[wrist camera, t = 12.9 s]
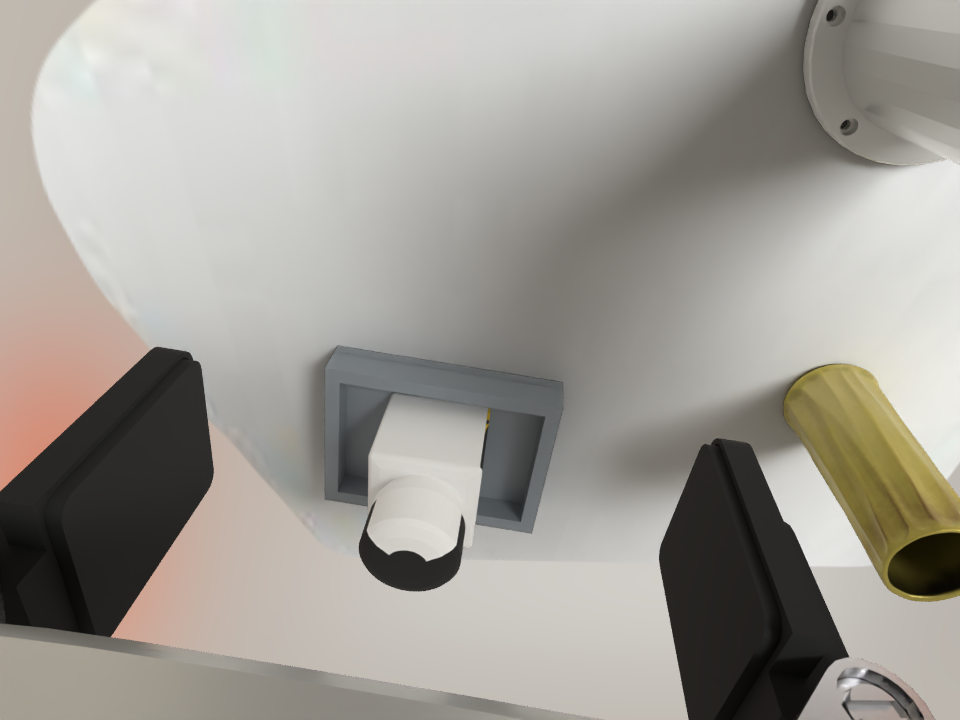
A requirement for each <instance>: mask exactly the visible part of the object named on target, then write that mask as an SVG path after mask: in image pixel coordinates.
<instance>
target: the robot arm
mask: <svg viewBox="0 0 960 720" xmlns="http://www.w3.org/2000/svg"><path fill="white" fill-rule="evenodd" d="M830 10H833V11H834V16H833V18H832V19H831V20H829V21H827V20H826V16H827V13H828V12H829V11H830ZM803 74H804V81H805V88H806V94H807V97H808V100H809V102H810V105H811V108H812V110H813V113H814V115H815V117H816V118H817V120H818V121H819V123H820V124H821V125H822V127H823V128H824V130H825V131H826V132H827V133H828V134H829V135H830V136H831V137H832V138H833V139H834V140H836V141H837V142H838V143H839V144H840V145H841V146H843V147H845V148H847V149H848V150H850V151H852V152H853V153H855V154H857V155H859V156H862V157H864V158H867V159H869V160H872V161H875V162H879V163H885V164H892V165H898V166H899V165H923V164H928V163H933V162H938V161H943V160H947V159H948V160H950V161H952V162H954V163H957V164H959V165H960V0H818V2H817V5H816V7H815V10H814V12H813V15H812V17H811V20H810V24H809V28H808V33H807V37H806V41H805V46H804V64H803ZM845 120H847V124H846V126H845V127H843V128H840V127H841V124H842V123H843V122H844V121H845ZM213 473H214V468H213V461H212V452H211V443H210V435H209V427H208V419H207V410H206V402H205V394H204V386H203V377H202V369H201V365H200V363H199V362H197V361H193V358H192V356H191V354H190V353H189V352H186V351H180V350H174V349H168V348H162V347H155V348H153V349H152V350H150V351H149V352H148V353H147V354H146V355H145V356H144V357H143V358H142V359H141V360H140V361H139V362H138V363H137V364H135V365H134V366H133V367H132V368H131V369H130V370H129V371H128V372H127V373H126V374H125V375H124V376H123V377H122V378H121V379H120V380H118V381H117V382H116V383H115V384H114V385H113V386H112V387H111V388H110V389H109V390H108V391H107V392H106V393H105V394H104V395H102V396H101V397H100V398H99V399H98V400H97V401H96V402H95V403H94V404H93V405H92V406H91V407H90V408H89V409H88V410H87V411H85V412H84V413H83V414H82V415H81V416H80V417H79V418H78V419H77V420H76V421H75V422H74V423H73V424H72V425H70V427H68V428H67V429H66V430H65V431H64V432H63V433H62V434H61V435H60V436H59V437H58V438H57V439H56V440H55V441H53V442H52V443H51V444H50V445H49V446H48V447H47V448H46V449H45V450H44V451H43V452H42V453H41V454H40V455H39V456H37V457H36V458H35V459H34V460H33V461H32V462H31V463H30V464H29V465H28V466H27V467H26V468H25V469H24V470H23V471H21V472H20V473H19V474H18V475H17V476H16V477H15V478H14V479H13V480H12V481H11V482H10V483H9V484H8V485H7V486H6V487H5V488H3V489H2V490H1V491H0V720H603V719H597V718H591V717H586V716H580V715H574V714H568V713H563V712H557V711H551V710H545V709H540V708H534V707H528V706H522V705H516V704H511V703H505V702H499V701H494V700H488V699H482V698H476V697H471V696H465V695H458V694H452V693H447V692H441V691H435V690H429V689H424V688H418V687H412V686H406V685H399V684H394V683H388V682H382V681H376V680H370V679H364V678H358V677H352V676H346V675H340V674H334V673H328V672H323V671H317V670H310V669H305V668H299V667H293V666H286V665H281V664H274V663H268V662H262V661H256V660H250V659H243V658H237V657H231V656H225V655H219V654H213V653H207V652H200V651H195V650H188V649H182V648H176V647H170V646H164V645H158V644H152V643H145V642H139V641H132V640H125V639H118V638H112V637H111V636H112V634H113V633H114V631H115V630H116V628H117V627H118V625H119V623H120V622H121V621H122V619H123V618H124V616H125V615H126V613H127V612H128V610H129V609H130V607H131V606H132V604H133V602H134V601H135V600H136V598H137V597H138V595H139V594H140V592H141V591H142V589H143V588H144V586H145V585H146V583H147V581H148V580H149V579H150V577H151V576H152V574H153V572H154V571H155V570H156V568H157V567H158V565H159V563H160V562H161V560H162V559H163V557H164V556H165V554H166V553H167V551H168V550H169V548H170V547H171V545H172V544H173V542H174V541H175V539H176V538H177V536H178V535H179V533H180V532H181V530H182V529H183V527H184V526H185V524H186V523H187V521H188V520H189V518H190V517H191V515H192V514H193V512H194V511H195V509H196V508H197V506H198V505H199V503H200V502H201V500H202V499H203V497H204V495H205V494H206V493H207V491H208V489H209V488H210V486H211V483H212V480H213ZM659 563H660V569H661V574H662V580H663V585H664V590H665V595H666V601H667V606H668V612H669V617H670V622H671V628H672V633H673V638H674V644H675V649H676V654H677V660H678V665H679V670H680V675H681V681H682V686H683V692H684V696H685V702H686V708H687V712H688V718H689V720H935V718H934V717H933V715H932V713H931V711H930V710H929V708H928V706H927V705H926V703H925V702H924V701H923V700H922V699H921V697H920V696H919V695H918V694H917V693H916V692H915V691H914V690H913V688H912V687H911V686H909V685H908V684H907V683H906V682H904V681H903V680H902V679H901V678H900V677H898V676H897V675H896V674H894V673H892V672H891V671H889V670H887V669H886V668H884V667H882V666H880V665H878V664H876V663H873V662H870V661H867V660H864V659H859V658H849V655H848V653H847V651H846V649H845V646H844V644H843V642H842V640H841V638H840V635H839V633H838V631H837V628H836V626H835V624H834V621H833V619H832V617H831V615H830V612H829V610H828V608H827V606H826V603H825V601H824V599H823V597H822V594H821V592H820V590H819V587H818V585H817V583H816V581H815V578H814V576H813V574H812V571H811V569H810V567H809V565H808V562H807V560H806V558H805V556H804V553H803V551H802V549H801V546H800V544H799V542H798V540H797V537H796V535H795V533H794V531H793V530H792V528H791V526H790V525H788V524H787V523H786V522H784V521H783V519H782V516H781V514H780V512H779V509H778V507H777V505H776V502H775V500H774V498H773V495H772V493H771V491H770V489H769V486H768V484H767V482H766V479H765V477H764V475H763V472H762V470H761V468H760V465H759V463H758V461H757V458H756V456H755V454H754V451H753V449H752V447H751V446H750V444H748V443H744V442H738V441H732V440H726V439H720V438H717V439H715V440H714V441H713V442H712V444H711V445H707V444H704V445H703V446H702V447H701V449H700V451H699V453H698V456H697V458H696V461H695V463H694V465H693V468H692V470H691V473H690V475H689V478H688V480H687V482H686V485H685V487H684V490H683V492H682V495H681V497H680V500H679V502H678V504H677V507H676V509H675V512H674V514H673V517H672V519H671V521H670V524H669V526H668V529H667V531H666V534H665V536H664V539H663V541H662V544H661V547H660V553H659Z"/></svg>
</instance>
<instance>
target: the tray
mask: <svg viewBox="0 0 960 720" xmlns="http://www.w3.org/2000/svg"><path fill="white" fill-rule="evenodd" d="M393 393H402V394H409V395H416V396H422V397H428V398H434V399H440V400H446V401H452V402H458V403H465V404H471V405H477V406H483V407H489V408H490V411H491V412H490V419H489V426H488V434H487V441H486V449H485V456H484V463H483V471H482V478H481V485H480V493H479V500H478V507H477V515H476V522H475V524H477V525H483V526H489V527H495V528H501V529H507V530H513V531H519V532H525V533H531V534H532V531H533V527H534V523H535V519H536V515H537V511H538V507H539V503H540V499H541V495H542V491H543V487H544V483H545V479H546V475H547V471H548V467H549V463H550V459H551V455H552V451H553V447H554V443H555V439H556V435H557V431H558V427H559V423H560V419H561V415H562V411H563V382H558V381H551V380H545V379H539V378H533V377H527V376H521V375H515V374H508V373H502V372H496V371H490V370H484V369H478V368H472V367H465V366H459V365H453V364H447V363H441V362H435V361H429V360H422V359H416V358H410V357H404V356H398V355H392V354H386V353H379V352H373V351H367V350H361V349H355V348H349V347H342V346H337V348H336V350H335V352H334V353H333V355H332V357H331V359H330V360H329V362H328V364H327V366H326V367H325V499H326V500H332V501H338V502H344V503H350V504H356V505H362V506H368V456H369V453H370V450H371V448H372V445H373V442H374V440H375V437H376V434H377V432H378V429H379V426H380V424H381V421H382V418H383V416H384V413H385V410H386V408H387V405H388V402H389V400H390V397H391V395H392V394H393Z"/></svg>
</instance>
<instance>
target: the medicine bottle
mask: <svg viewBox="0 0 960 720" xmlns="http://www.w3.org/2000/svg"><path fill="white" fill-rule="evenodd" d="M490 412H491V411H490V408H489V407H483V406H477V405H471V404H465V403H458V402H452V401H446V400H440V399H434V398H428V397H422V396H416V395H409V394H402V393H393V394H392V395H391V397H390V400H389V402H388V405H387V408H386V410H385V413H384V416H383V418H382V421H381V424H380V426H379V429H378V432H377V434H376V437H375V440H374V442H373V445H372V448H371V450H370V453H369V456H368V518H367V521H366V524H365V527H364V530H363V533H362V536H361V539H360V542H359V554H360V557H361V559H362V562H363V563H364V565H365V566H366V568H367V569H368V571H369V572H370V573H371V574H372V575H373V576H375V578H377V579H378V580H380V581H381V582H383V583H385V584H386V585H389V586H391V587H394V588H397V589H401V590H406V591H426V590H431V589H435V588H437V587H440V586H441V585H443V584H445V583H446V582H448V581H450V580H451V579H452V578H453V577H454V576H455V574H456V573H457V571H458V570H459V567H460V562H461V556H462V549H463V548H470V547H471V545H472V543H473V537H474V529H475V522H476V515H477V507H478V500H479V493H480V485H481V478H482V471H483V463H484V456H485V449H486V441H487V434H488V426H489V419H490Z"/></svg>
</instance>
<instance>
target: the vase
mask: <svg viewBox="0 0 960 720" xmlns="http://www.w3.org/2000/svg"><path fill="white" fill-rule="evenodd" d="M783 410H784V417H785V420H786V422H787V423H788V425H789V426H790V427H791V428H792V429H793V430H794V432H795V433H796V434H797V435H798V436H799V438H800V439H801V441H802V443H803V444H804V446H805V447H806V449H807V451H808V453H809V454H810V456H811V458H812V460H813V461H814V463H815V465H816V467H817V468H818V470H819V472H820V473H821V475H822V476H823V478H824V480H825V481H826V483H827V485H828V486H829V488H830V490H831V491H832V493H833V495H834V496H835V498H836V500H837V501H838V503H839V504H840V506H841V507H842V509H843V511H844V512H845V514H846V516H847V518H848V520H849V522H850V523H851V525H852V527H853V529H854V531H855V532H856V534H857V536H858V538H859V540H860V541H861V543H862V545H863V547H864V549H865V551H866V553H867V555H868V557H869V558H870V560H871V562H872V564H873V566H874V567H875V569H876V571H877V572H878V575H879V576H880V578H881V580H882V581H883V583H884V585H885V586H886V587H887V588H888V589H889V590H890V591H891V592H893V593H894V594H896V595H898V596H900V597H903V598H905V599H908V600H913V601H925V602H926V601H928V602H931V601H940V600H945V599H949V598H953V597H957V596H960V498H959V497H958V495H957V494H956V492H955V491H954V490H953V488H952V487H951V486H950V485H949V483H948V482H947V480H946V479H945V478H944V477H943V475H942V474H941V473H940V471H939V470H938V469H937V467H936V466H935V464H934V463H933V462H932V460H931V459H930V457H929V456H928V455H927V453H926V452H925V450H924V449H923V448H922V446H921V445H920V444H919V442H918V441H917V440H916V439H915V437H914V436H913V435H912V433H911V432H910V430H909V429H908V428H907V426H906V425H905V424H904V422H903V421H902V420H901V418H900V417H899V415H898V414H897V413H896V411H895V410H894V408H893V406H892V405H891V404H890V402H889V401H888V399H887V398H886V397H885V395H884V394H883V393H882V391H881V389H880V388H879V385H878V382H877V380H876V379H875V377H874V376H873V375H872V374H871V373H869V372H868V371H866V370H864V369H862V368H860V367H857V366H853V365H848V364H834V365H828V366H824V367H820V368H817V369H815V370H813V371H811V372H809V373H807V374H806V375H804V376H803V377H801V378H800V379H799V380H797V381H796V382H795V383H794V385H793V386H792V387H791V388H790V390H789V391H788V393H787V395H786V397H785V400H784V406H783Z"/></svg>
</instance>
